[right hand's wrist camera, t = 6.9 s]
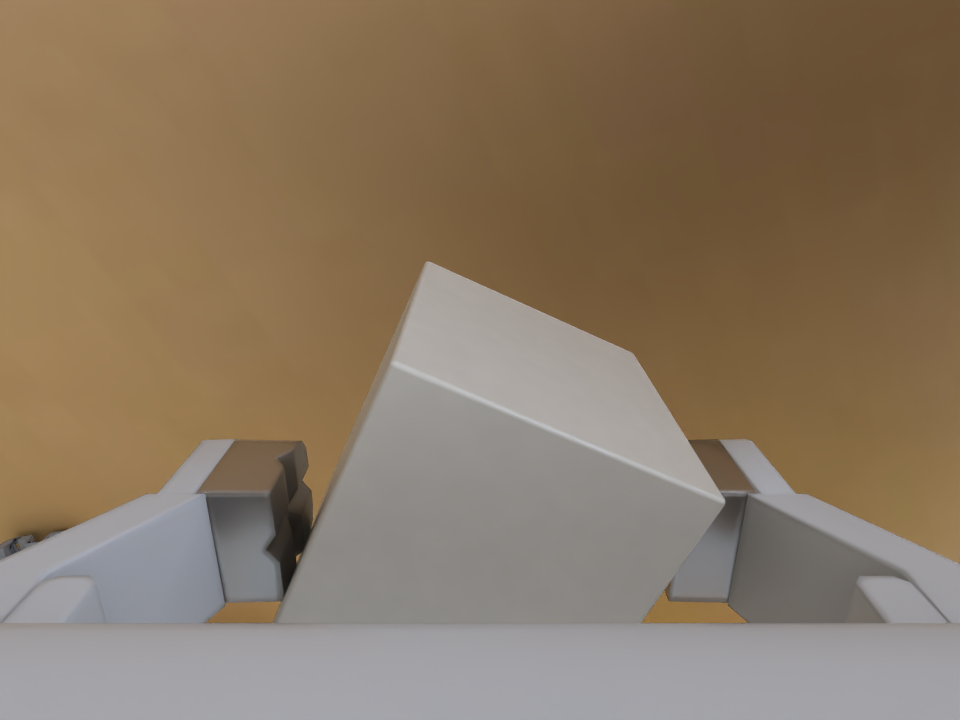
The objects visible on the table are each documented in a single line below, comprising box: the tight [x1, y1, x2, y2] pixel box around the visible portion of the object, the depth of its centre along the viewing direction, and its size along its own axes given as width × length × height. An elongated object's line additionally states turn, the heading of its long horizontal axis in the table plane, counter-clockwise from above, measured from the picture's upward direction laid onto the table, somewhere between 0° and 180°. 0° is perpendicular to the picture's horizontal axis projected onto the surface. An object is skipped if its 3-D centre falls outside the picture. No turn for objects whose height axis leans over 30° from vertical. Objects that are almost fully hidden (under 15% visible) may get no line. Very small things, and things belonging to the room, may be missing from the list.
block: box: [273, 261, 725, 623], centre depth 10 cm, size 4×5×5 cm
